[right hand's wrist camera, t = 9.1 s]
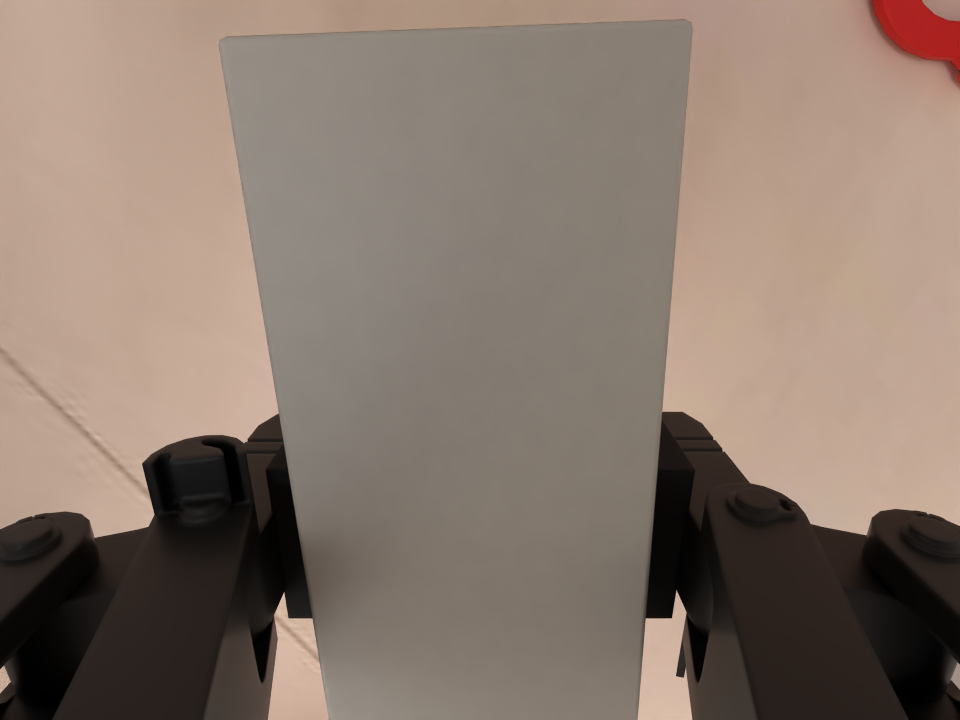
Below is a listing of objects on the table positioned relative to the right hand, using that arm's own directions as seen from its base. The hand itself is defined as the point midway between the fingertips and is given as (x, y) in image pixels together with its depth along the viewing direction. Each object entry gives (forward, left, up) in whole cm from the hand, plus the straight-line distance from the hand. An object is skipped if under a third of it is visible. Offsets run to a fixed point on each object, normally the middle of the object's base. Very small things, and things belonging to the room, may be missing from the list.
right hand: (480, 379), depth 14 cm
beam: (+14, +15, 0) cm, 21 cm away
